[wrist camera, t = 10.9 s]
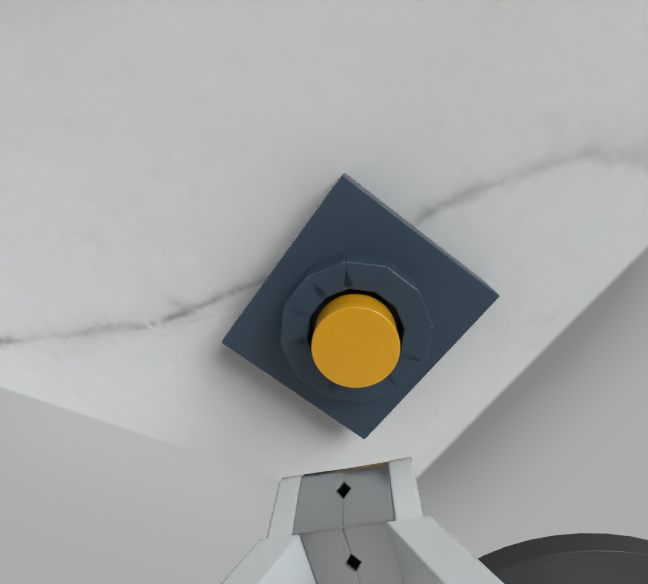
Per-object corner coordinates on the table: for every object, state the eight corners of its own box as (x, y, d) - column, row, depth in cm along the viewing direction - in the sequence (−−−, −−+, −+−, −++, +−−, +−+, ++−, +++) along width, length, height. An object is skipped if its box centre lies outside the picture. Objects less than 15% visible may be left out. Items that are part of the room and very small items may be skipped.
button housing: (363, 415, 24) (365, 463, 20) (232, 325, 23) (209, 359, 19) (485, 282, 21) (515, 309, 17) (344, 172, 20) (342, 175, 16)
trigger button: (362, 382, 19) (363, 403, 18) (298, 338, 19) (293, 355, 17) (413, 325, 18) (419, 342, 17) (347, 277, 18) (347, 289, 16)
